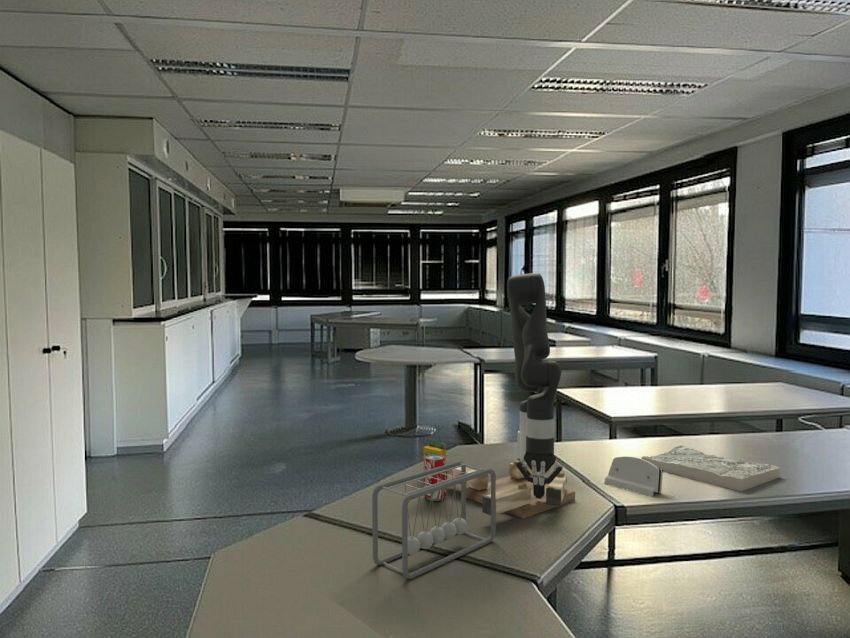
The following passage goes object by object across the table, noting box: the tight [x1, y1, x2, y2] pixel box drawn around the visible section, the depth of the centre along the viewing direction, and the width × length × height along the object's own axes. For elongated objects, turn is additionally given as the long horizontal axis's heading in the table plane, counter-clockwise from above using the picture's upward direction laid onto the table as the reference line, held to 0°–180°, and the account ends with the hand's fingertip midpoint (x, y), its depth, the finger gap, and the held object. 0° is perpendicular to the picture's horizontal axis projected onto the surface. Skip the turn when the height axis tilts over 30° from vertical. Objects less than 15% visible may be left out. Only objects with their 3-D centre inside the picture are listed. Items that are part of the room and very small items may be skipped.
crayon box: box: [423, 439, 447, 462], centre depth 198 cm, size 7×3×12 cm, turn 47°
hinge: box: [603, 456, 664, 498], centre depth 189 cm, size 17×5×10 cm, turn 40°
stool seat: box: [446, 459, 576, 519], centre depth 183 cm, size 32×44×8 cm
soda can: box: [423, 455, 447, 502], centre depth 180 cm, size 6×6×12 cm
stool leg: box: [546, 471, 568, 507], centre depth 172 cm, size 15×4×5 cm, turn 161°
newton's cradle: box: [371, 460, 497, 580], centre depth 142 cm, size 30×10×18 cm, turn 135°
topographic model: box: [640, 445, 781, 492], centre depth 205 cm, size 23×34×5 cm
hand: (539, 497), depth 170 cm, fingers closed
